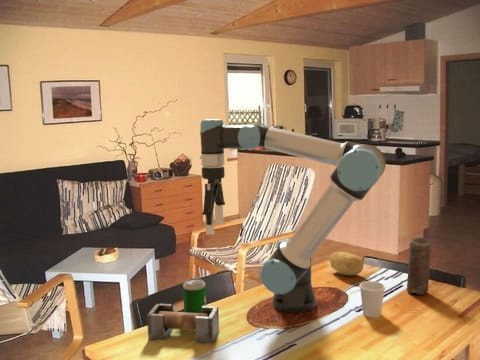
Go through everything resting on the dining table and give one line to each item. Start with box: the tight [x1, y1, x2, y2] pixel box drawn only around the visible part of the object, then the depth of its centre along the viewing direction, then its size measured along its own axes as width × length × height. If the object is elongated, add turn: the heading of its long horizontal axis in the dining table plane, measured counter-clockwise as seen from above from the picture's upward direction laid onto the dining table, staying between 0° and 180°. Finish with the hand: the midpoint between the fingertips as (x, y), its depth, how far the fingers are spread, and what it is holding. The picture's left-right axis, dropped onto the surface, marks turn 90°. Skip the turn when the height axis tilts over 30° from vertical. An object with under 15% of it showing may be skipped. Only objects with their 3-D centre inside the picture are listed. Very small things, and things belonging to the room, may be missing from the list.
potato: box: [329, 251, 365, 277], centre depth 204 cm, size 10×14×10 cm
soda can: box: [182, 278, 207, 313], centre depth 168 cm, size 8×8×12 cm
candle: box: [406, 237, 432, 295], centre depth 182 cm, size 8×7×20 cm
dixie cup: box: [359, 280, 387, 319], centre depth 166 cm, size 8×8×10 cm
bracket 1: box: [146, 303, 173, 342], centre depth 155 cm, size 5×9×8 cm, turn 170°
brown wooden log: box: [158, 311, 208, 331], centre depth 154 cm, size 15×5×5 cm, turn 80°
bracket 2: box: [195, 305, 220, 345], centre depth 152 cm, size 5×9×8 cm, turn 170°
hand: (214, 229), depth 168 cm, fingers open, 13 cm apart
